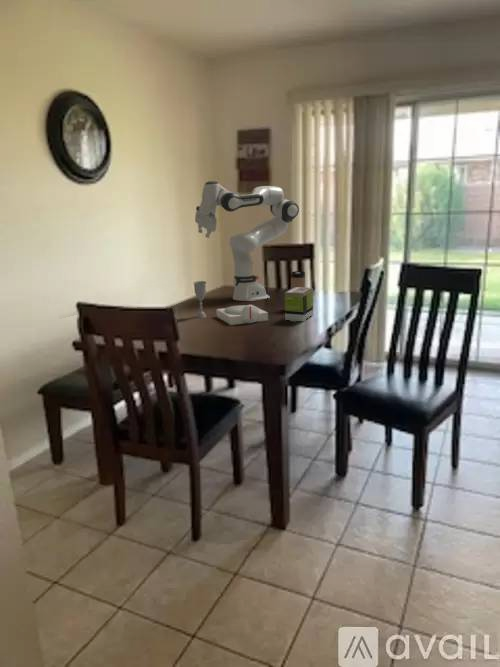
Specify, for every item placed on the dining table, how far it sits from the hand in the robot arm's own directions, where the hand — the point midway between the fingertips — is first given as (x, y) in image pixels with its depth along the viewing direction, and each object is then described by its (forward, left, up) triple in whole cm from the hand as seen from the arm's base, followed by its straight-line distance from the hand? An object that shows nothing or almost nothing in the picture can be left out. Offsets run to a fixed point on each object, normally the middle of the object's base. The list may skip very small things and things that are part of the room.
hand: (203, 234), depth 286 cm
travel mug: (-39, +41, -39) cm, 69 cm away
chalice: (+14, +34, -39) cm, 54 cm away
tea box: (-29, +61, -39) cm, 79 cm away
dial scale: (-3, +48, -39) cm, 62 cm away
